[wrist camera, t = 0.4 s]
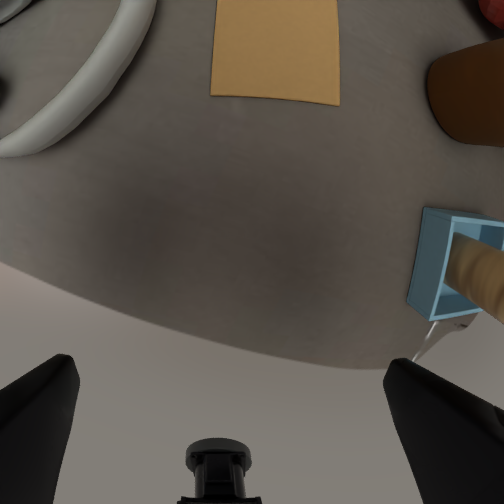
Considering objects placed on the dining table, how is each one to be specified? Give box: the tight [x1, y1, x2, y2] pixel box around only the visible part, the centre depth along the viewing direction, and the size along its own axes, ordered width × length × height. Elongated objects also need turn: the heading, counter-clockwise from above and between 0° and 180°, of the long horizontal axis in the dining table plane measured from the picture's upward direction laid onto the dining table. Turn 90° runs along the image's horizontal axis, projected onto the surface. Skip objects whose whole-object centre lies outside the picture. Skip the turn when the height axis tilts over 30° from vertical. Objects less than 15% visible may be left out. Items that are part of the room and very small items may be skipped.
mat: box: [210, 0, 340, 106], centre depth 14 cm, size 13×8×1 cm, turn 178°
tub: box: [406, 207, 504, 321], centre depth 19 cm, size 8×8×3 cm
